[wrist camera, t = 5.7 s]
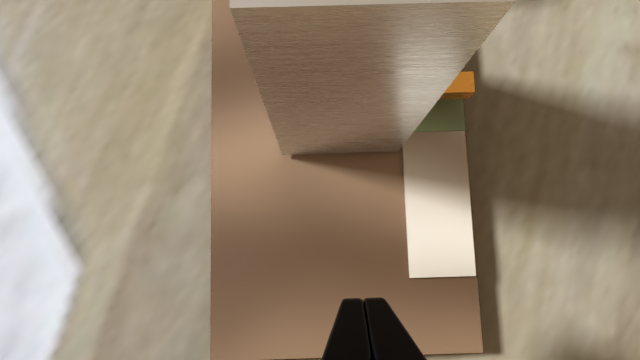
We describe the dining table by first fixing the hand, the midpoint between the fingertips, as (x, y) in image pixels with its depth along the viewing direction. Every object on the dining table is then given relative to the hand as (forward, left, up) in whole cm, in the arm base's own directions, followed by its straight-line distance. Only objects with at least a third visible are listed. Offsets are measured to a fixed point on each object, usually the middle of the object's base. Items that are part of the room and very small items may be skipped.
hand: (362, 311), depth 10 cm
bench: (+6, +3, -8) cm, 10 cm away
